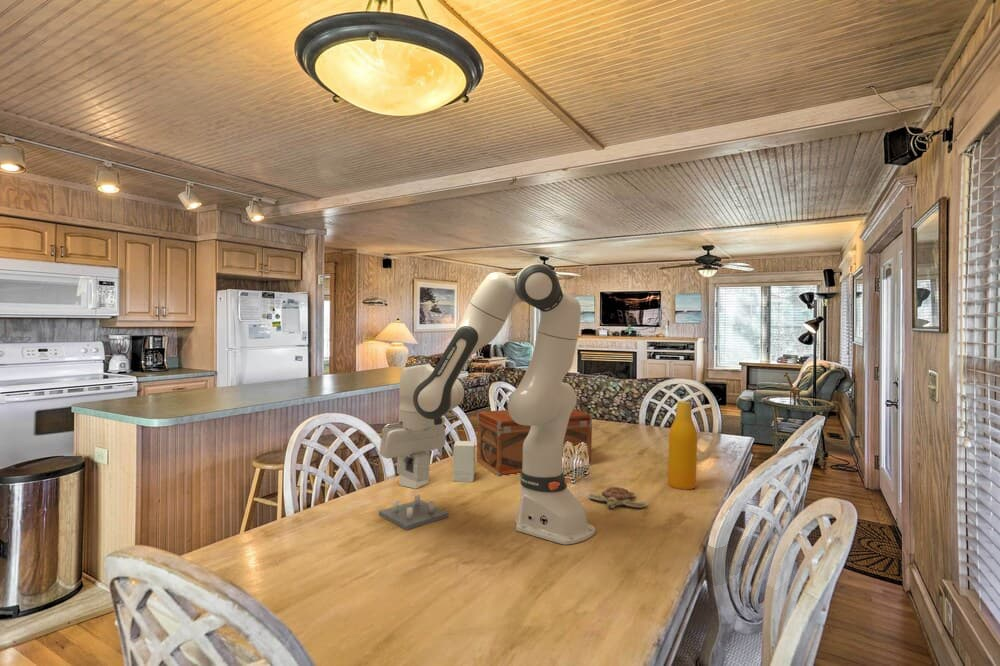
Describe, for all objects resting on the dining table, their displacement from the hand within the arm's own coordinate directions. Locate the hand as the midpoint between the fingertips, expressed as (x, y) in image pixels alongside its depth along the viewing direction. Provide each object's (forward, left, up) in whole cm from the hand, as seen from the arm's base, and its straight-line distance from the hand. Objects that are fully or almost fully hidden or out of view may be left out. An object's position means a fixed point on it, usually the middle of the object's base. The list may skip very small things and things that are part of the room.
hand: (413, 468), depth 145 cm
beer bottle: (-38, -85, -14) cm, 94 cm away
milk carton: (+23, -16, -14) cm, 31 cm away
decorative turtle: (-32, -54, -14) cm, 65 cm away
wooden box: (+14, -66, -14) cm, 69 cm away
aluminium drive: (0, 0, -2) cm, 2 cm away
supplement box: (+17, -33, -14) cm, 40 cm away
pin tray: (0, 0, -14) cm, 14 cm away
